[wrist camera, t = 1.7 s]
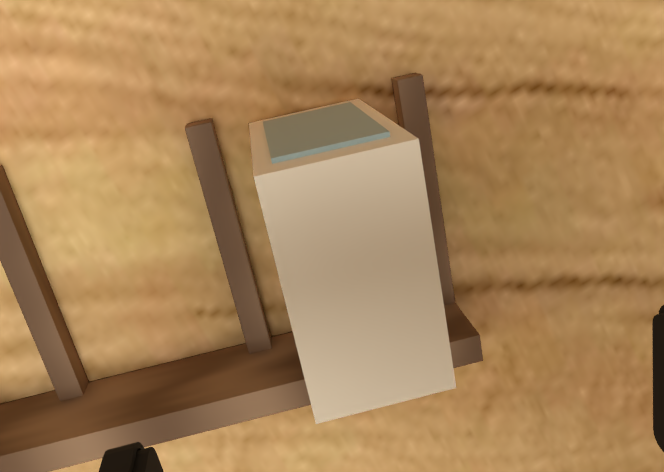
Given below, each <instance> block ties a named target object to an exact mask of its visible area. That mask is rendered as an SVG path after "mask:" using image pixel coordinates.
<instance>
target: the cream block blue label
mask: <svg viewBox="0 0 664 472" xmlns="http://www.w3.org/2000/svg"><path fill="white" fill-rule="evenodd" d="M249 131H250V143H251V154H252V165H253V176H254V181H255V185H256V189H257V193H258V196H259V200H260V204H261V208H262V212H263V216H264V220H265V224H266V228H267V232H268V236H269V240H270V244H271V248H272V252H273V256H274V260H275V264H276V268H277V272H278V276H279V280H280V284H281V287H282V291H283V295H284V299H285V303H286V307H287V311H288V315H289V319H290V323H291V327H292V331H293V335H294V339H295V343H296V347H297V351H298V355H299V359H300V363H301V367H302V371H303V375H304V378H305V382H306V386H307V390H308V394H309V398H310V402H311V406H312V410H313V414H314V418H315V422H316V424H318V423H322V422H326V421H330V420H334V419H338V418H342V417H346V416H349V415H353V414H357V413H361V412H365V411H369V410H373V409H377V408H380V407H384V406H388V405H392V404H396V403H400V402H404V401H408V400H411V399H415V398H419V397H423V396H427V395H431V394H435V393H439V392H442V391H446V390H450V389H454V388H456V382H455V375H454V369H453V362H452V356H451V349H450V342H449V336H448V329H447V322H446V316H445V309H444V303H443V296H442V289H441V283H440V276H439V270H438V263H437V256H436V250H435V243H434V236H433V230H432V223H431V217H430V210H429V203H428V197H427V190H426V184H425V177H424V170H423V164H422V157H421V150H420V144H419V139H418V138H417V137H415V136H414V135H412V134H411V133H409V132H408V131H406V130H405V129H403V128H402V127H400V126H399V125H397V124H396V123H394V122H393V121H391V120H390V119H388V118H387V117H386V116H384V115H383V114H381V113H380V112H378V111H377V110H375V109H374V108H372V107H371V106H369V105H368V104H366V103H365V102H363V101H362V100H360V99H359V98H358V99H353V100H349V101H345V102H340V103H336V104H331V105H327V106H322V107H318V108H313V109H309V110H304V111H300V112H296V113H291V114H287V115H282V116H278V117H273V118H269V119H264V120H260V121H256V122H251V123H249Z"/></svg>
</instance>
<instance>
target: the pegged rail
mask: <svg viewBox="0 0 664 472" xmlns="http://www.w3.org/2000/svg"><path fill="white" fill-rule="evenodd" d="M392 84H393V91H394V97H395V103H396V109H397V115H398V122H399V126H400V127H402V128H403V129H405V130H406V131H408V132H409V133H411V134H412V135H414V136H415V137H417V138H418V139H419V144H420V150H421V157H422V164H423V170H424V177H425V184H426V190H427V197H428V203H429V210H430V217H431V223H432V230H433V236H434V243H435V250H436V256H437V263H438V270H439V276H440V283H441V289H442V296H443V303H444V309H445V316H446V322H447V329H448V336H449V342H450V349H451V356H452V362H453V368H456V367H460V366H464V365H468V364H472V363H476V362H480V361H483V357H482V349H481V341H480V335H479V333H478V332H477V331H476V330H475V328H474V327H473V326H472V324H471V323H470V322H469V320H468V319H467V318H466V316H465V315H464V314H463V312H462V311H461V310H460V308H459V307H458V306H457V304H456V303H455V298H454V291H453V284H452V277H451V270H450V263H449V256H448V249H447V242H446V236H445V229H444V222H443V215H442V208H441V201H440V194H439V187H438V180H437V173H436V166H435V159H434V152H433V145H432V138H431V131H430V124H429V117H428V110H427V103H426V96H425V89H424V82H423V75H421V74H418V73H413V74H408V75H404V76H399V77H395V78H392ZM185 131H186V134H187V138H188V141H189V145H190V148H191V152H192V155H193V159H194V162H195V166H196V169H197V173H198V176H199V180H200V183H201V187H202V190H203V194H204V197H205V201H206V204H207V208H208V211H209V215H210V218H211V222H212V225H213V229H214V232H215V236H216V239H217V243H218V246H219V250H220V253H221V257H222V260H223V264H224V267H225V271H226V274H227V278H228V281H229V285H230V288H231V292H232V295H233V299H234V302H235V306H236V309H237V313H238V317H239V320H240V324H241V327H242V331H243V334H244V338H245V341H246V343H245V344H241V345H237V346H233V347H229V348H225V349H221V350H217V351H213V352H209V353H205V354H201V355H197V356H193V357H189V358H185V359H181V360H177V361H173V362H169V363H165V364H161V365H157V366H153V367H148V368H144V369H140V370H136V371H132V372H128V373H124V374H120V375H116V376H112V377H108V378H104V379H100V380H96V381H92V382H88V379H87V377H86V374H85V372H84V369H83V367H82V364H81V362H80V359H79V357H78V354H77V352H76V349H75V347H74V344H73V342H72V339H71V337H70V334H69V332H68V329H67V327H66V324H65V322H64V319H63V317H62V314H61V312H60V309H59V307H58V304H57V302H56V299H55V297H54V294H53V292H52V289H51V287H50V284H49V282H48V279H47V277H46V274H45V272H44V269H43V267H42V264H41V261H40V259H39V256H38V254H37V251H36V249H35V246H34V244H33V241H32V239H31V236H30V234H29V231H28V229H27V226H26V224H25V221H24V219H23V216H22V214H21V211H20V209H19V206H18V204H17V201H16V199H15V196H14V194H13V191H12V189H11V186H10V184H9V181H8V179H7V176H6V174H5V171H4V169H3V166H2V165H1V166H0V261H1V263H2V266H3V268H4V270H5V273H6V275H7V277H8V280H9V282H10V285H11V287H12V289H13V292H14V294H15V296H16V299H17V301H18V303H19V306H20V308H21V310H22V313H23V315H24V318H25V320H26V322H27V325H28V327H29V329H30V332H31V334H32V336H33V339H34V341H35V343H36V346H37V348H38V351H39V353H40V355H41V358H42V360H43V362H44V365H45V367H46V369H47V372H48V374H49V376H50V379H51V381H52V384H53V386H54V388H55V391H52V392H48V393H43V394H39V395H35V396H31V397H27V398H23V399H19V400H15V401H11V402H7V403H3V404H0V472H49V471H53V470H57V469H61V468H65V467H69V466H73V465H77V464H81V463H85V462H88V461H92V460H96V459H100V458H103V455H104V453H105V451H107V450H108V449H112V448H116V447H120V446H124V445H127V444H131V443H135V442H140V443H141V444H142V445H143V447H147V446H151V445H155V444H159V443H163V442H167V441H171V440H174V439H178V438H182V437H186V436H190V435H194V434H198V433H202V432H206V431H210V430H214V429H218V428H221V427H225V426H229V425H233V424H237V423H241V422H245V421H249V420H253V419H257V418H261V417H264V416H268V415H272V414H276V413H280V412H284V411H288V410H292V409H296V408H300V407H304V406H307V405H311V402H310V398H309V394H308V390H307V386H306V382H305V378H304V375H303V371H302V367H301V363H300V359H299V355H298V351H297V347H296V343H295V339H294V335H293V332H290V333H286V334H282V335H278V336H274V337H270V333H269V329H268V325H267V322H266V318H265V314H264V310H263V307H262V303H261V299H260V296H259V292H258V288H257V284H256V281H255V277H254V273H253V269H252V266H251V262H250V258H249V255H248V251H247V247H246V243H245V240H244V236H243V232H242V228H241V225H240V221H239V217H238V213H237V210H236V206H235V202H234V199H233V195H232V191H231V187H230V184H229V180H228V176H227V172H226V169H225V165H224V161H223V158H222V154H221V150H220V146H219V143H218V139H217V135H216V131H215V128H214V124H213V120H212V118H211V119H207V120H202V121H198V122H193V123H189V124H187V125H186V127H185Z"/></svg>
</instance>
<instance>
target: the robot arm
mask: <svg viewBox="0 0 664 472" xmlns="http://www.w3.org/2000/svg"><path fill="white" fill-rule="evenodd" d="M653 430H654V436H655V439H656V441H657V443H658V445H659V447H660V448H661V449H662V451H663V452H664V305H663V306H661V308H660V310H659V314H657V315H656V316H654V318H653ZM99 472H163V469H162V466H161V464H160V461H159V459H158V456H157V453H156V451H155V449H154V448H153V447H149V448H146V449H144V447H143V445H142V444H141V443H140V442H135V443H131V444H127V445H124V446H120V447H116V448H112V449H108V450H107V451H105V453H104V455H103V459H102V462H101V466H100V469H99Z"/></svg>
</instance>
